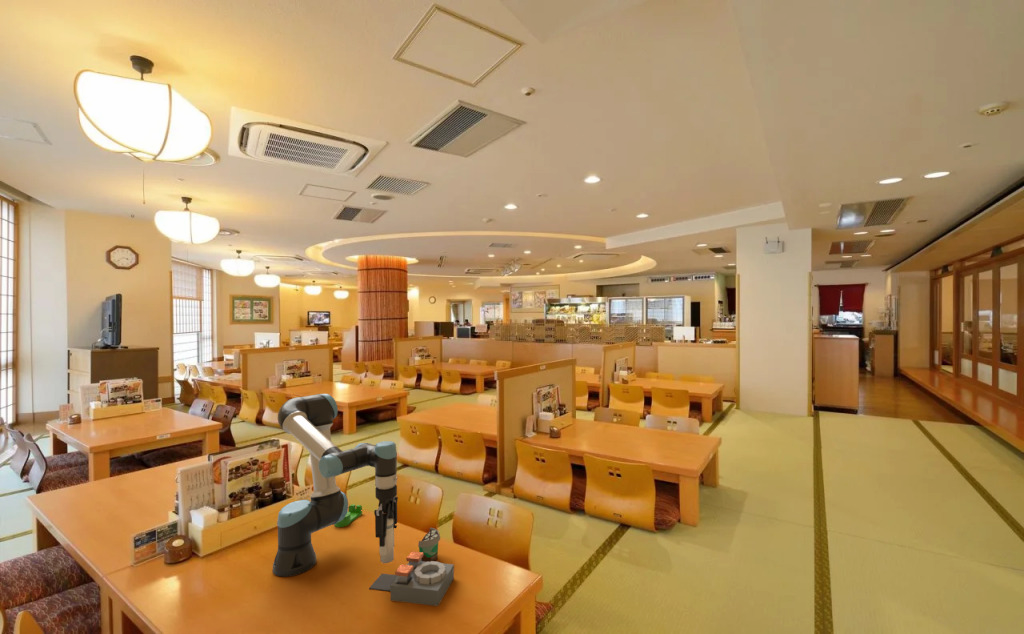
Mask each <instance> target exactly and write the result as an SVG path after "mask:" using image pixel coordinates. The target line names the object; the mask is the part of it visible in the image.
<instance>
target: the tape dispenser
mask: <svg viewBox="0 0 1024 634" xmlns="http://www.w3.org/2000/svg"><path fill="white" fill-rule="evenodd" d="M361 510H362V511H361ZM362 515H363V506H362V505H361V504H356V503H355V504H354V503H353V504H350V505H348V511H347V514H346V516H345V518H344V519H343V520H341V521H339V522H337V523H336V524H334V525H333V526H334V527H336V528H343V527H344V526H345V527H347V526H349V525H350V524H351V523H352V522H353V521H355V520H356V519H358V518H359V517H360V516H362Z"/></svg>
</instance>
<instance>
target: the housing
mask: <svg viewBox="0 0 1024 634" xmlns="http://www.w3.org/2000/svg"><path fill="white" fill-rule="evenodd" d="M406 565H409V562H408V563H406ZM454 565H455V564H453V563H452V564H451V563H442V562H440V561H436V562H435V561H431V562H429V561H428V562H424V561H421V564H420V566H419V565H418V566H417V568H416V569H415V570H412V572H411V581H410V582H409V584H408V585H403V584H398V577H397V578H396V579H395V580H394V582H393V583H392V584H391V585H390V586H391V591H390V601H393V602H395V601H396V602H402V603H410V604H417V605H418V604H419V605H426V606H434V607H435V606H436V607H439V606H440V603H441V601H442V600H443V598H444V596H445V595H446V593H447V591H448V589H449V587H450V586H451V585H452V582H453V581H454V578H455V566H454Z"/></svg>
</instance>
